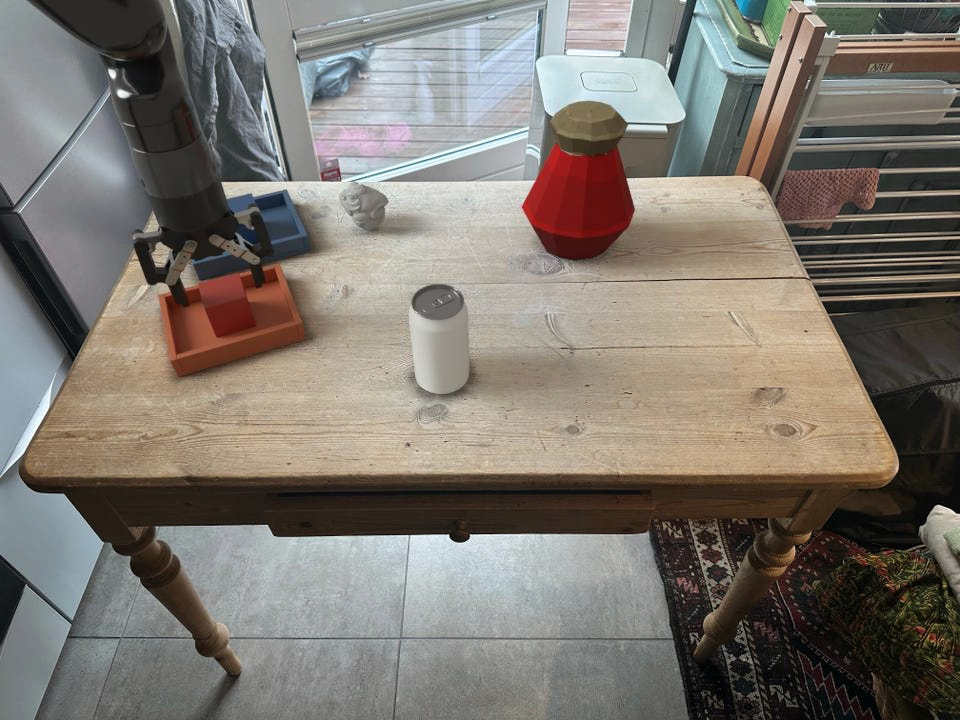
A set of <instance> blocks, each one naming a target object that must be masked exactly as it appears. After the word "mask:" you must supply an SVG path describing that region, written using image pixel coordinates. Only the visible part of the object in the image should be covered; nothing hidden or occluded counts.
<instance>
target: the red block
mask: <svg viewBox="0 0 960 720" xmlns="http://www.w3.org/2000/svg"><path fill="white" fill-rule="evenodd" d="M239 274H240V272H236V273H235V272H234V273H232V274H228V275H223V276H221V277H217V278H212V279H208V280H205V281H201V282H198V283H197V285H198V286H199V290H200V294H201V298H202V302H203V306H204V309H205V312H206V314H207V316H208V319H209V321H210V324H211V326H212V329H213V331H214V333H215V336H216V337H220V336H223V335H227V334H230V333H234V332H237V331H241V330H244V329H248V328H251V327H255V326H256V323H255V320H254V316H253V313H252V310H251V307H250V304H249V301H248V298H247V295H246V292H245V289H244V286H243V283H242V280H241V278H240V275H239Z"/></svg>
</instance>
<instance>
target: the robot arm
mask: <svg viewBox="0 0 960 720" xmlns="http://www.w3.org/2000/svg"><path fill="white" fill-rule="evenodd" d="M25 1H26V2H27V3H29V4H30V5H31V6H32V7H34V8H35V9H36V10H37V11H39V12H40V13H41V14H43V15H44V16H45V17H46V18H48V19H49V20H50V21H51V22H53V23H54V24H55V25H57V26H58V27H59V28H61V29H62V30H63V31H64V32H66V33H67V34H68V35H70V36H71V37H72V38H74V39H75V40H77V41H78V42H80V43H81V44H83V45H85V46H86V47H88V48H89V49H90V50H93V51H95V52H96V53H97V55H98V58H99V60H100V62H101V64H102V67H103V69H104V72H105V74H106V78H107V81H108V82H107V83H108V85H109V86H108V87H109V93H110V97H111V103H112V106H113V109H114V111H115V114H116V117H117V119H118V121H119V124H120V126H121V129H122V131H123V133H124V136H125V138H126V141H127V143H128V147H129V150H130V154H131V158H132V162H133V165H134V168H135V171H136V173H137V176H138V177H137V178H138V181H139V183H140V185H141V187H142V188H143V190H144V192H145V195H146V197H147V200H148V202H149V204H150V205H149V206H151V209H152V210H151V211H152V212H153V215H154V217H155V219H156V221H157V224H158V228H157V230H153V231H147V232H144V231H143V230H142V229H139V228H136V229H134V230H132V232H131V237H132V238H131V239H132V244H133V249H134V251H135V255H136V257H137V260H138V262H139V265H140V268H141V270H142V273H143V275H144V276H143V277H144V279H145V282H146V283H147V285H149V286H156V285H157V284H164V285H166V286H167V287H168V290H169V292H171V294H172V296H173V299H174V301H175V302H176V303H177V304H182V305H183V307H188V306H190V304H189V299H188V295H187V293H186V290H185V288H186V287H185V286H184V284H183V280H182V279H181V274H182V273H184V271H185V269H186V268H187V266H188V264H189V261H190V260H192V259H193V260H195V261H199V260H203V259H205V258H207V257H212V256H220V255H223V252H225V251H227V252H229V253H230V254H232V255H234V256H235V257H237V258H242V259H244V260H246V261H247V262H248V264H249V267H248V268H249V271H251V273H252V276H253V280H254V283H255V286H256V289H257V288H261V287H262V285H261V283H263V282H265V279H266V278H265V275H264V271H263V264H261V260H262V259H263V258H264V257H266V256H267V257H270V256H272V255H273V254H274V249H273V247H272V244H271V241H270V238H269V235H268V232H267V230H266V227H265V224H264V221H263V218H262V216H261V213H260V210H259V207H258V205H257V204H255V203H251V204H249V205H248V210H244V211H241V212H237V213H234V212H233V211H232V210H231V209H230V208H229V205H228V202H227V199H228V198H227V196H226V193H225V190H224V185H223V183H222V179H221V176H220V173H219V171H218V170H219V169H218V165H217V162H216V160H215V158H214V154H213V151H212V149H211V146H210V144H209V141H208V140H207V139H208V138H207V137H206V135H205V133H204V130H203V127H202V125H201V121H200V117H199V115H198V112H197V108H196V106H195V102H194V100H193V97H192V94H191V91H190V89H189V87H188V84H187V82H186V79H185V78H184V76H183V74H182V70H181V69H180V65H179V62H178V59H177V55H176V50H175V46H174V43H173V39H172V36H171V32H170V28H169V24H168V20H167V15H166V10H165V8H164V4H163V1H162V0H25ZM239 224H244V225H245V226H246V227H247V228H248V229H251V230H254V229H255V231H256V234H257V236H258V239H259V242H258V243H257V244H255V245H253V244H251V243H249V242H248V241H246V240H245V239H243V238H242V237H241V235H239V234H238V233H236V231H237V229H238V226H239ZM159 243H161V244H162V245H163V246H164V247H167V248H168V249H169V250H168V256H167V258H166V261H165V263H164V265H163V266H156V263H155V261H154V257H153V255H152V254H153V253H154V252H155V251H156V249H157V245H158V244H159Z"/></svg>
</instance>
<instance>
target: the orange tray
mask: <svg viewBox="0 0 960 720" xmlns="http://www.w3.org/2000/svg"><path fill="white" fill-rule="evenodd" d="M262 268H263V271H264V275H265V278H266V279H265V282H263V283H261V285H262V287H261V288H257V289H256V286H255V283H254V280H253V276H252V273H251V270H248V271H244V272H241V273H240V272H239V275H240V278H241V280H242V283H243V286H244V289H245V292H246V295H247V298H248V301H249V304H250V307H251V310H252V313H253V316H254V320H255V323H256V326H255V327H251V328H248V329H244V330H241V331H237V332H234V333H230V334H227V335H223V336H220V337H216V336H215V333H214V331H213V329H212V326H211V324H210V321H209V319H208V316H207V314H206V312H205V309H204V306H203V302H202V298H201V294H200V290H199V286H198V284H194V285H191V286H187V287H184V288H185V290H186V293H187V295H188V299H189V304H190V306H188V307H183V305H182V304H177V303H176V302H175V301H174V299H173V296H172V294H171V292H170V291H167V292H164V293H160V294H157V297H158V303H159V308H160V313H161V320H162V325H163V330H164V335H165V340H166V346H167V351H168V356H169V357H168V358H169V362H170V364H171V366H172V368H173V370H174V371H175V374H176V376H177V378H180V377H182V376H185V375H189V374H192V373H196V372H199V371H203V370H206V369H209V368H212V367H213V368H214V367H216V366H219V365H222V364H226V363H229V362H233V361H236V360H239V359H243V358H246V357H250V356H252V355H253V356H254V355H256V354H259V353H263V352H266V351H270V350H272V349H276V348H280V347H284V346H286V345H291V344H293V343H296V342H299V341H303V340H307V334H306V330H305V327H304V323H303V321H302V318H301V315H300V313H299V309H298V308H297V305H296V302H295V300H294V297H293V295H292V292H291V289H290V287H289V284H288V282H287V279H286V277H285V274H284V271H283V268H282V266H281V263H279V262H278V263H274V264H271V265H266V266H262Z"/></svg>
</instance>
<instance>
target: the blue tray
mask: <svg viewBox="0 0 960 720" xmlns="http://www.w3.org/2000/svg"><path fill="white" fill-rule="evenodd" d="M253 198H254V200H255V203H256V204H257V205H258V207H259V210H260V213H261V216H262V218H263V221H264V224H265V227H266V230H267V232H268V235H269V238H270V241H271V244H272V247H273V249H274V254H273V255H272V256H270V257H267V256H266V257H264V258H263V259H262V260H261V265H263V264H266V263H270V262H274V261H278V260H282V259H286V258H291V257H295V256H297V255H298V256H299V255H301V254H306V253H309V252H312V248H311V247H312V246H311V243H310V240H309V234H308V232H307V231H306V229H305V228H306V227H304V223H303V222H302V220H301V217H300V215H299V213H298V211H297V208H296V206H295V204H294V202H293V200H292V197H291V196H290V193H289V191H288V188H287V189H282V190H277V191H273V192H268V193H264V194H260V195H255V196H253ZM256 244H257V243H256ZM253 245H255V244H253ZM191 263H192V265H193V268H194V271H195V273H196V275H197V278H198V280H199V281H201V280H206V279H210V278H214V277H218V276H220V275H224V274H230V273H232V272H237V271H241V270H244V269H248V268H250V267H249V264H248V262H247V261H246V260H244V259H242V258H237V257H235V256H234V255H232V254H230V253H229V252H227V251H225V252H223V255H220V256H212V257H207V258H205V259H203V260H199V261H195V260H193V259H191Z"/></svg>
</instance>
